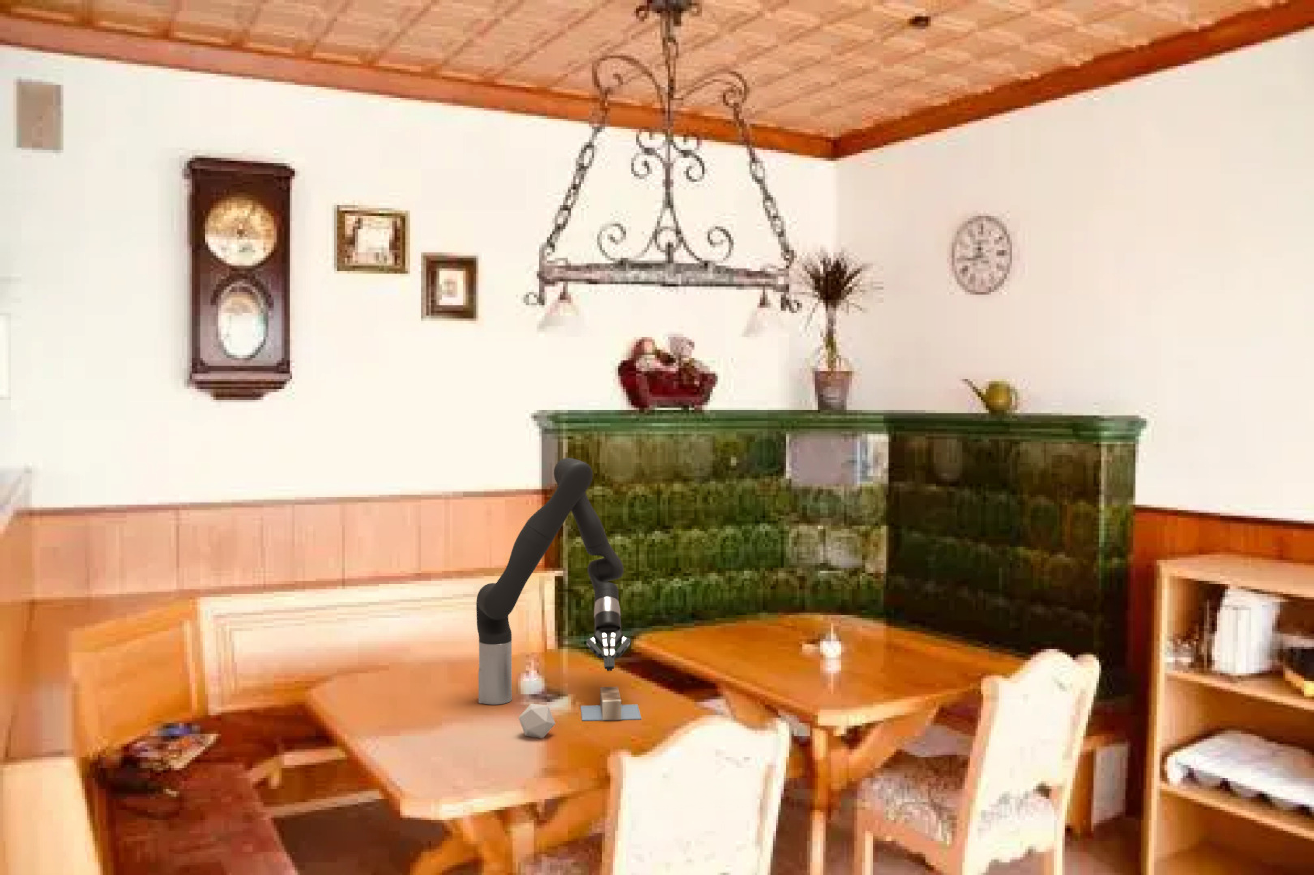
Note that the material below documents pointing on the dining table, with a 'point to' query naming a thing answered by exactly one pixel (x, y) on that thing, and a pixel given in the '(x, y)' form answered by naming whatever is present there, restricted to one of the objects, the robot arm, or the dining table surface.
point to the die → (536, 720)
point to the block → (610, 703)
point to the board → (595, 713)
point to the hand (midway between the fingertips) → (609, 669)
